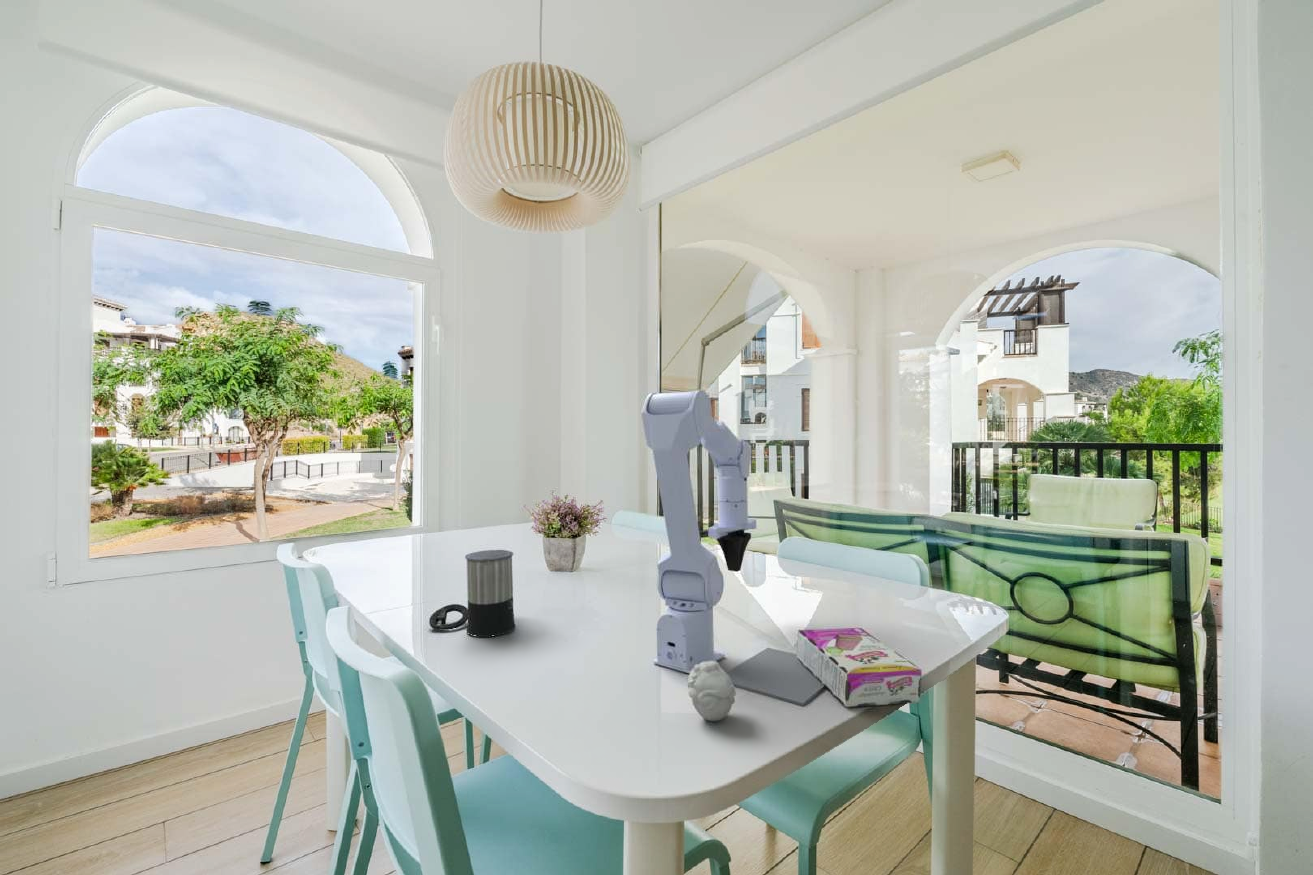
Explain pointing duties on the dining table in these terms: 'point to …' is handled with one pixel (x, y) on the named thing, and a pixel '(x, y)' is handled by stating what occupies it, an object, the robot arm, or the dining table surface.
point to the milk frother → (484, 596)
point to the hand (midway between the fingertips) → (734, 570)
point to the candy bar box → (858, 667)
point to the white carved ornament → (711, 690)
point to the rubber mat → (777, 677)
